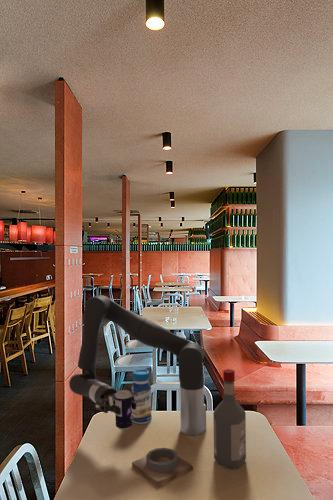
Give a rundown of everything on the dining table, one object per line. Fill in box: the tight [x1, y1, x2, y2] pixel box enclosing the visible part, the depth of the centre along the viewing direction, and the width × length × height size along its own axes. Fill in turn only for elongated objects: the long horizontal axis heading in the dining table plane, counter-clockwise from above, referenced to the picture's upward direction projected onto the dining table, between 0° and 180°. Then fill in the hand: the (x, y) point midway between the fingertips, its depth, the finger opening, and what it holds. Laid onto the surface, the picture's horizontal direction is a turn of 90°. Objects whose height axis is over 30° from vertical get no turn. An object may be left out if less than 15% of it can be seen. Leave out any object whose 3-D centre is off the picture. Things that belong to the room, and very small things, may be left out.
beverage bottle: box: [130, 369, 153, 425], centre depth 162 cm, size 8×8×20 cm
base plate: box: [131, 455, 194, 488], centre depth 127 cm, size 14×14×2 cm
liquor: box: [213, 368, 247, 470], centre depth 130 cm, size 9×9×30 cm
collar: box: [145, 447, 179, 473], centre depth 127 cm, size 10×10×2 cm
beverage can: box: [114, 389, 133, 431], centre depth 135 cm, size 6×6×12 cm
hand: (127, 409), depth 133 cm, fingers closed on beverage can, 5 cm apart
